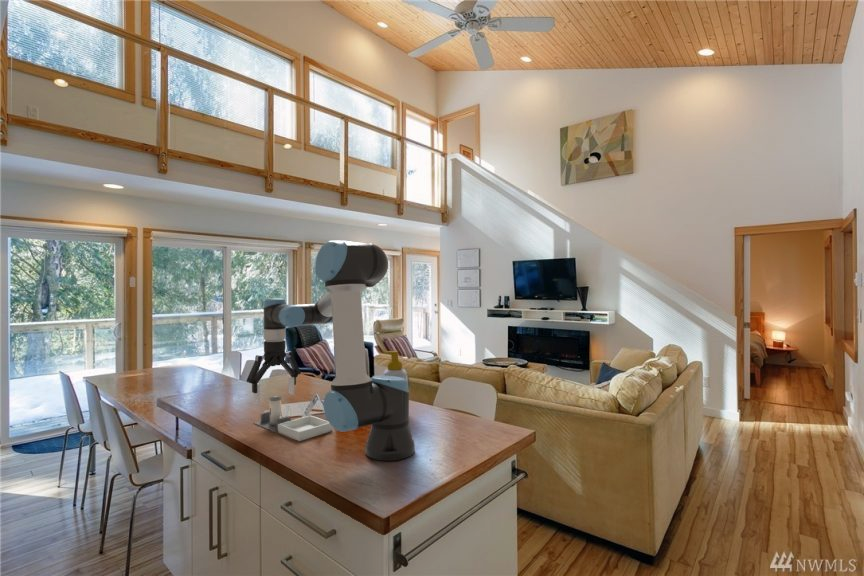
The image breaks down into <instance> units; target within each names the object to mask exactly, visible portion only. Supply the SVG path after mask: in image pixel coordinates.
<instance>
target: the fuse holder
mask: <svg viewBox="0 0 864 576" xmlns="http://www.w3.org/2000/svg"><path fill="white" fill-rule="evenodd" d="M291 420H292V419H291V416H289V415H287V414H285V415H283V416H282V415H281V417H279V419H276V426H271V425H269V421H270V409H268V410H264V411H263V412H262V413H260V421H254V422H253V424H254V425H256V426H258V427H260V428H263V429H266V430H268V431H269V432H272V433H278V424H280V423H284V422H288V421H291Z"/></svg>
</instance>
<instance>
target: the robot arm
mask: <svg viewBox="0 0 864 576" xmlns="http://www.w3.org/2000/svg"><path fill="white" fill-rule="evenodd" d="M314 266H315V268H314V269H315V273H316V275H317V278H318V279H319V280H320V281H322V282H324V289H325V290H327V291H328V292H327V293H326V294H324V296H322V297H321V298H320V299H319V300H318V301H317V302H315V303H305V304H303V303H301V304H297V303H296V304H286V300H285V298H283V297H282V298H281V297H279V298H277V297H275V298H274V297H273V298H268V297H267V298H265V299H264V303H263V340H264V342H263V355H258V354H256V355H255V358H254V359H255V360H254V362H253V365H252V367H251V369H250V372H249V373H248V376H247V378H246V383H249V384H251V392H252V393H253V400H254V401H253V402H255V403H261V384H260V383H259V382H260V380H261V379H262V378H263V376H264V375H265V374H266V372H267V370H268V369H270V368H271V367H276V366H281V367H283V369H284V371H286V372H287V374H288V375H289V376H288V394H289V395H292V396H294V395H295V386H296V385H297V377H298V376H299V375H301V374H302V373H301V370H300V368H299V365H298V363H297V361H296V359H295V357H294V351H291V350H287V351H286V343H287V342H286V335H287V333H286V332H287V331H286V329H287V328H286V327H288V328H296V327H299V326H310V325H322V324H323V325H326V324H331V323H332V331H333V332H332V334H333V337H332V338H333V350H334V351H333V352H334V367H335V369H334V370H335V378H333V380H332V381H331V382H330V390H329V391H328V392H327V393H326V394H325V396H324V397H323V411H324V415H325V417H326V421H328V422H329V423H330V424H331V426H332V429H334V430H336V431H337V432H340V433H341V432H345V433H346V432H348V431H355V430H357V429H360V428H363V427H366V426H370V430H369V434H368V439H367V441H366V444H365V454H366V456H367V457H369V458H370V459H373V460H378V461H398V460H399V461H400V460H402V459H406V458H409V457H410V456H413V454H414V453H415V450H416V449H415V448H416V445H415V440H414V439H413V435H412V431H411V428H410V421H409V420H410V419H409V417H410V416H409V415H410V414H409V413H410V412H409V410H410V406H409V405H410V404H409V402H410V390H409V383H408V380H407V378H406V379H404V378H401V377H395V376H383V375H372V377H370V376H369V375H368V373H367V368H366V367H367V366H366V354H365V353H366V351H365V336H364V321H363V306H362V305H363V304H362V292H364V291H365V290H366V289H368V288H373V287H375V286H376V285H377V284H378V283H380V282H381V281H382V280H383V279H384V277H385V276H386V275H387V272H388V268H389V260H388V257H387V254H386V253H385V251H384V250H383V249H382V248H381V247H379V246H378V245H376V244H374V243H370V242H358V241H348V240H343V239H341V240H329V241H326V242H325V243H323V245H321V247H320V248H319V250H318V251H317V255H316V259H315V265H314ZM285 358H287V360H288V362H289V364H290V365H289V364H288V362H287V360H285ZM263 361H264V362H263Z"/></svg>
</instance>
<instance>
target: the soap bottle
mask: <svg viewBox="0 0 864 576" xmlns="http://www.w3.org/2000/svg"><path fill="white" fill-rule="evenodd" d="M385 354H386V355H390V357H391V358H390V359H391V360H389V361H388V363H387V368H386V369H385V370H384V371H383V374H382V376H395V377H401V378H404V379H406V380H407V370H406V369H405V368H403V363H402V361H401V360H399V351H398V350H391V351H390V350H389V351H385Z"/></svg>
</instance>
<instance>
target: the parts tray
mask: <svg viewBox="0 0 864 576" xmlns="http://www.w3.org/2000/svg"><path fill="white" fill-rule="evenodd" d="M329 432H333V427H332V426H331V424H330V423H329V422H328V420H327V419H326V420H325V419H323V418H320V417H317V416H314V415H311V414H310V415H306V416H303V417H299V418H296V419H291V421H288V422H284V423H280V424H278V432H277V434H278V433H279V434H281V435H282V436H286V437H287V438H290V439H293V440H295V441H298V442H301V441H304V440H308V439H310V438H313V437H317V436H320V435H324V434H326V433H329Z"/></svg>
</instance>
